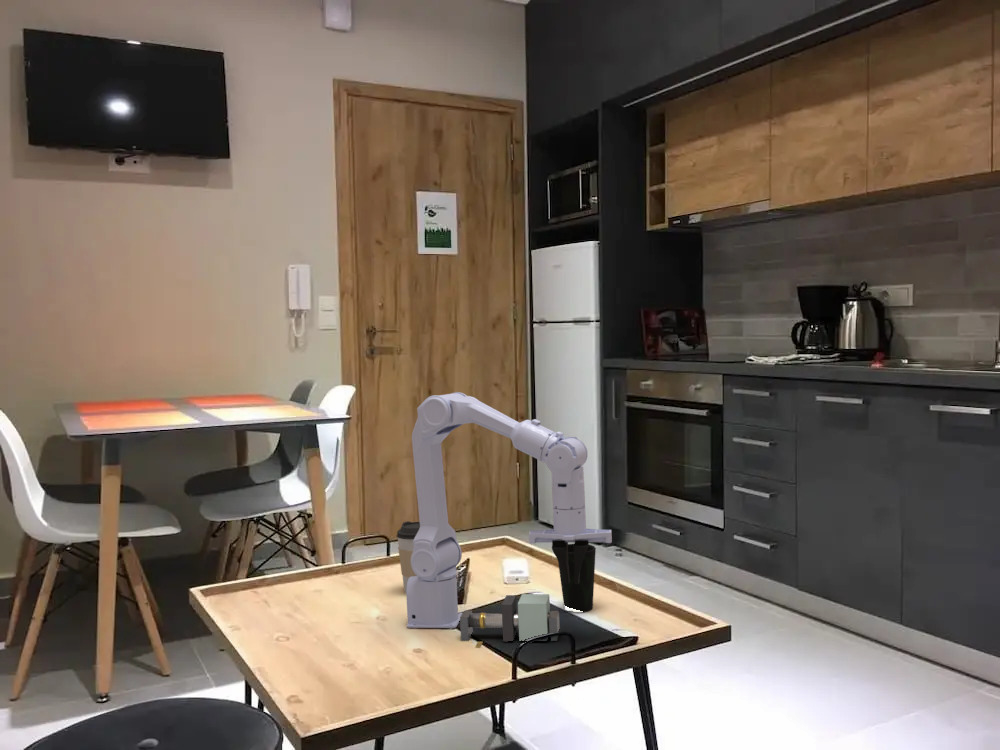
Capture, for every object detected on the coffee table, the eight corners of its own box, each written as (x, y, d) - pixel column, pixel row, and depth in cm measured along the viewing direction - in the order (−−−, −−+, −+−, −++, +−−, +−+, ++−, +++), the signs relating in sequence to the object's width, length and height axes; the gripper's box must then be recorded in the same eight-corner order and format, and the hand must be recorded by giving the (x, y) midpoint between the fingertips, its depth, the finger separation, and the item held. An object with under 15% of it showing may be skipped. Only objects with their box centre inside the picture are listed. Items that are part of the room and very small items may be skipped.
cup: (596, 614, 166) (593, 553, 166) (556, 614, 168) (554, 552, 167) (599, 602, 174) (597, 543, 173) (561, 602, 175) (559, 543, 175)
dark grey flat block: (503, 641, 153) (501, 604, 153) (508, 630, 158) (506, 595, 158) (513, 641, 153) (511, 604, 152) (517, 630, 158) (516, 595, 158)
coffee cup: (449, 588, 188) (446, 520, 188) (424, 600, 181) (420, 528, 180) (416, 584, 193) (413, 517, 193) (390, 594, 186) (387, 525, 185)
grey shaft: (457, 647, 152) (455, 622, 152) (465, 632, 159) (464, 609, 159) (555, 648, 149) (554, 623, 149) (559, 633, 156) (558, 610, 156)
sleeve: (519, 641, 152) (517, 603, 152) (523, 631, 158) (522, 594, 158) (547, 641, 152) (545, 603, 151) (550, 631, 157) (549, 594, 157)
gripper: (525, 511, 150) (528, 589, 151) (609, 510, 148) (612, 589, 148) (530, 503, 157) (533, 578, 158) (610, 502, 155) (613, 577, 155)
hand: (572, 582), depth 153 cm, fingers closed
